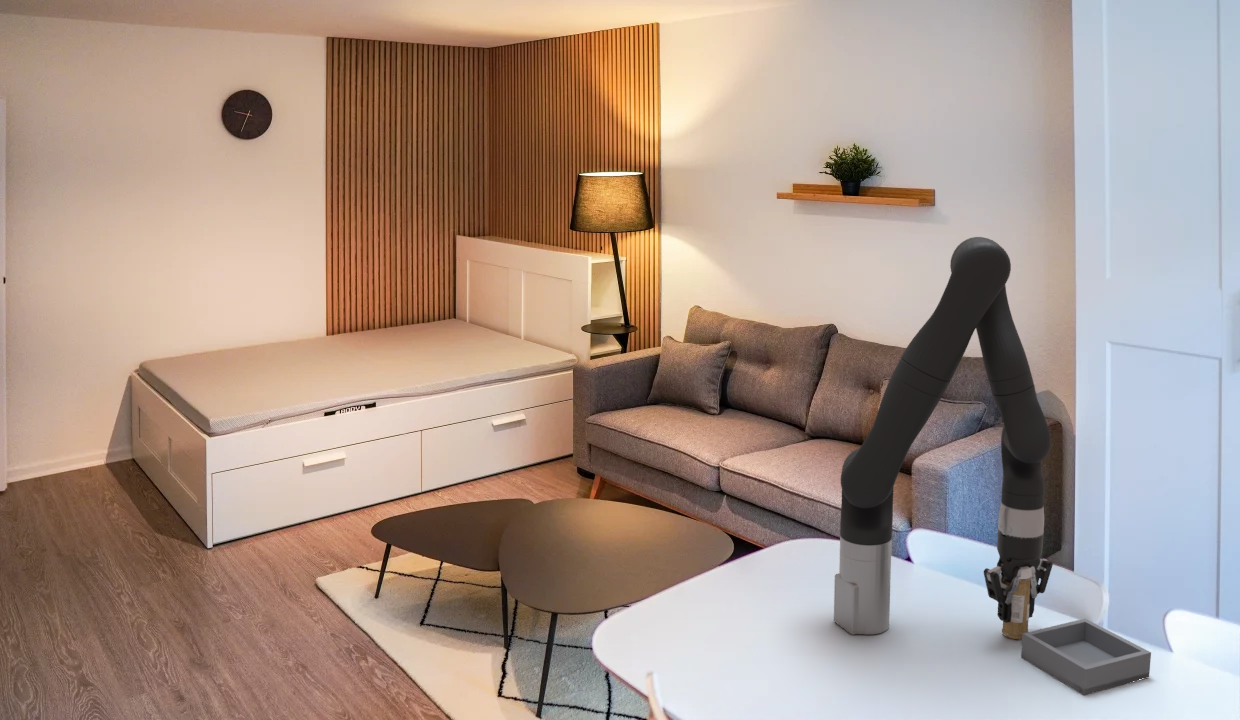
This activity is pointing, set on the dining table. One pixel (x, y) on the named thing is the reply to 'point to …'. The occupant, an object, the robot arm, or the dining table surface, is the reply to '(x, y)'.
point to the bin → (1085, 656)
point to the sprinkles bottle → (1019, 607)
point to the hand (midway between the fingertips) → (1015, 617)
